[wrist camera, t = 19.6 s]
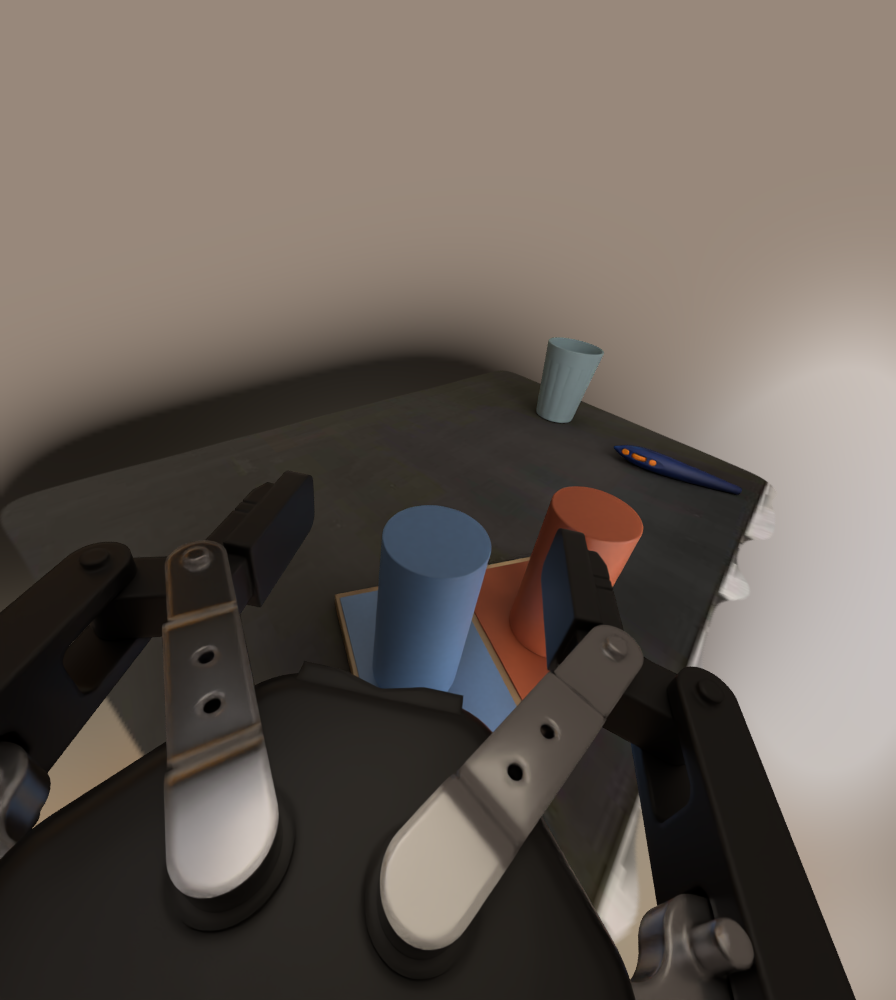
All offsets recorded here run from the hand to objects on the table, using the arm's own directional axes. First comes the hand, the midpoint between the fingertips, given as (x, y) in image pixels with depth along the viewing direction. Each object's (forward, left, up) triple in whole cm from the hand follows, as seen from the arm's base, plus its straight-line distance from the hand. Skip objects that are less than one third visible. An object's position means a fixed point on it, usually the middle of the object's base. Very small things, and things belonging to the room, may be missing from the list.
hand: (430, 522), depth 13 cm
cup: (+36, +37, -15) cm, 54 cm away
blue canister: (+2, +3, -14) cm, 14 cm away
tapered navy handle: (+42, +19, -15) cm, 49 cm away
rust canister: (+12, +3, -14) cm, 18 cm away
